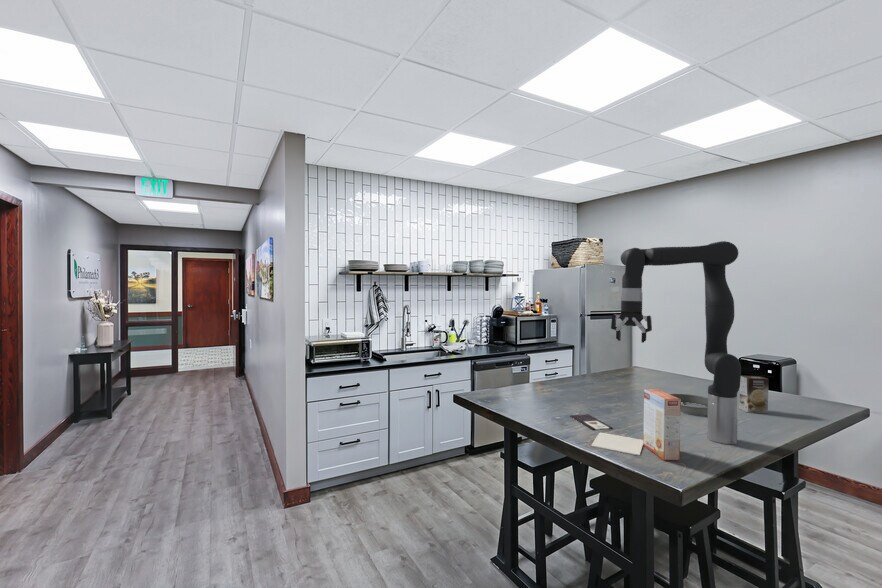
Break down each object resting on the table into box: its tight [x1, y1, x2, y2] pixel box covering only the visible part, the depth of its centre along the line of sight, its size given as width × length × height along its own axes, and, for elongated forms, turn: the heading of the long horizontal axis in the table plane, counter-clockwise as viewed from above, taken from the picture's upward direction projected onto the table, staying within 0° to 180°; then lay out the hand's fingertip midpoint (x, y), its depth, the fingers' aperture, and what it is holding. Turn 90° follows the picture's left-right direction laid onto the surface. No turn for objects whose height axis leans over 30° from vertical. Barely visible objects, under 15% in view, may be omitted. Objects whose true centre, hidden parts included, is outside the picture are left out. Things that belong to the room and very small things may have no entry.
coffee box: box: [738, 375, 770, 414], centre depth 195 cm, size 9×6×16 cm
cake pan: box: [669, 393, 708, 416], centre depth 199 cm, size 25×25×4 cm
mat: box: [590, 431, 644, 457], centre depth 154 cm, size 16×16×1 cm
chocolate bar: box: [569, 414, 613, 431], centre depth 178 cm, size 9×1×18 cm
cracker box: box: [642, 388, 682, 461], centre depth 145 cm, size 14×6×21 cm, turn 0°
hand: (630, 341), depth 161 cm, fingers open, 8 cm apart
